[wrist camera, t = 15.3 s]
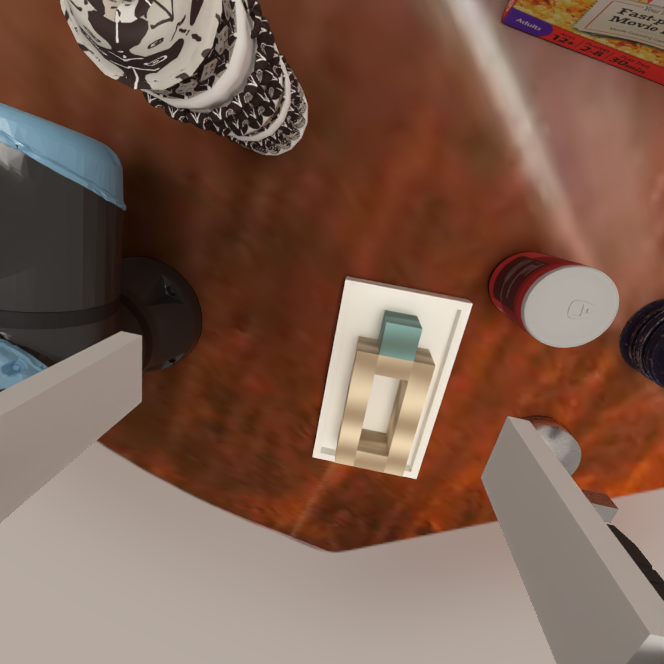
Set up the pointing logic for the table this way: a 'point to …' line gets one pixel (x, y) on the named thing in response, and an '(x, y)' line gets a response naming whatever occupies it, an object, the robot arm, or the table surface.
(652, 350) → the dark blue cylinder
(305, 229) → the table surface
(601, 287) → the canned food
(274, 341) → the table surface
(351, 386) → the beige hollow block
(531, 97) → the table surface
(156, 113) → the table surface
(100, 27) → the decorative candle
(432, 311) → the tray
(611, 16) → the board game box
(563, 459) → the grey piece
